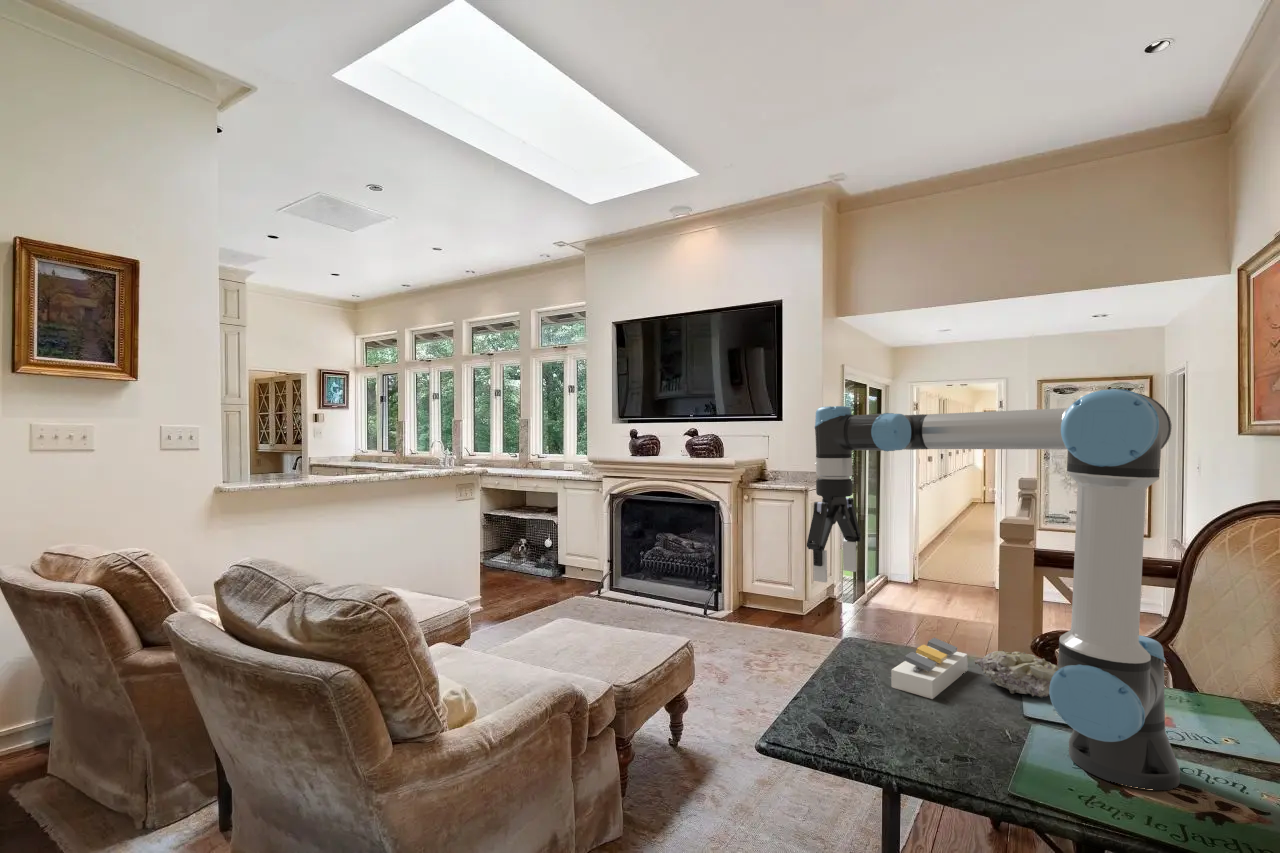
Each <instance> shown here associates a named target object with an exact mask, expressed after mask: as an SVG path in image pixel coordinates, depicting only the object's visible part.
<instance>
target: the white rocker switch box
mask: <svg viewBox="0 0 1280 853" xmlns="http://www.w3.org/2000/svg"><path fill="white" fill-rule="evenodd" d="M928 647H929V646H928ZM931 648H932V647H931ZM933 649H934V648H933ZM935 650H936V649H935ZM938 651H939V650H938ZM940 652H941V651H940ZM915 653H916V652H915ZM942 653H943V652H942ZM916 654H918V653H916ZM945 654H946V653H945ZM919 655H920V654H919ZM921 656H922V655H921ZM923 657H924V656H923ZM925 658H927V657H925ZM927 659H929V658H927ZM930 660H931V659H930ZM932 661H933V660H932ZM934 662H936V661H934ZM965 671H966V672H968V653H964V652H961V651H957V652H955V653H954V654H953V655H951V656H950V655H948V654H947V659H946V660H944V661H943V662H942V663H938V662H936V667H935V668H933V669H932V670H931V671H929V672H928V671H926V670H924V669H922V668H919V667H917V666H915V665H913V664H911V663H909V662H906V661H903V662H901V663H899V664H898V665H897V666H895V667H893V668H892V669H891V671H890V674H891V676H890V677H891V681H890V682H891V684H890V685H891V688H893V689H896V690H900V691H903V692H906V693H909V694H914V695H917V696H921V697H924V698H926V699H927V698H928V699H931V700H933V699H935V698H936V697H937V696H938V695H939V694H941V693H942V692H943V691H944V690H946V689H947V688H949V686H951V685H952V684H953V683H954V682H955V681H956V680H958V679H959V678H960V677H961V676H963V675H964V674H965V673H966V672H965ZM963 673H964V674H963ZM962 674H963V675H962Z"/></svg>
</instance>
